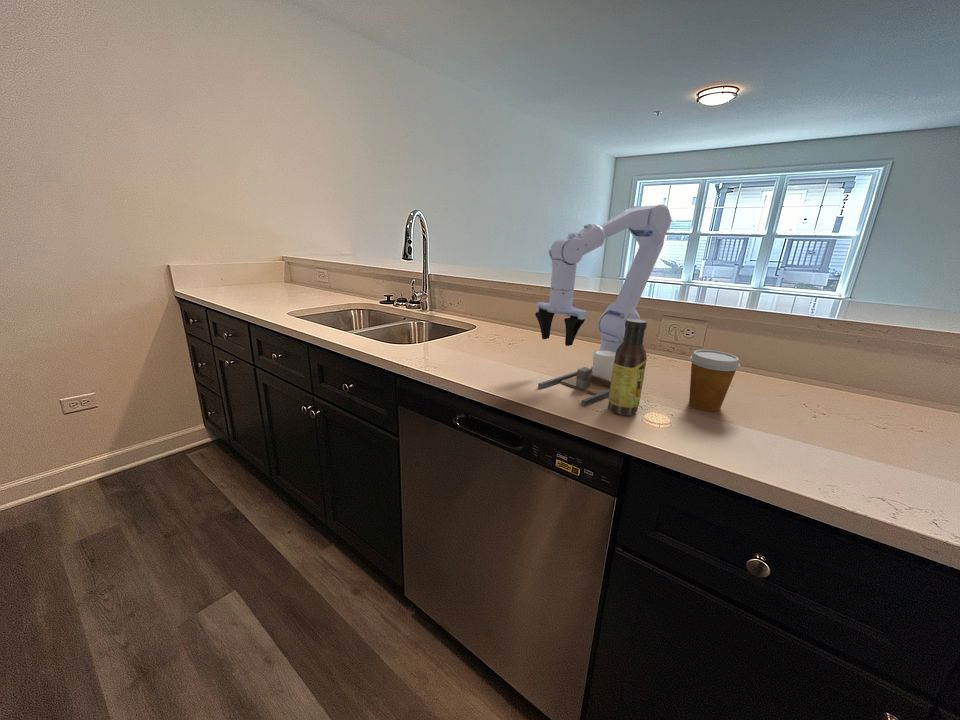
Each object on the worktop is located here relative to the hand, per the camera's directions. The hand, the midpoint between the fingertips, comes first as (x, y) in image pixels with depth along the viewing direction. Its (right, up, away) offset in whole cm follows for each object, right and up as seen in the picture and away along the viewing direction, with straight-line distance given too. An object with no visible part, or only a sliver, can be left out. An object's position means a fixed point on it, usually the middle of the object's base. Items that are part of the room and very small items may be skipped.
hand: (556, 341), depth 102 cm
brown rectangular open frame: (+10, -11, -1) cm, 15 cm away
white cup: (+12, -10, 0) cm, 16 cm away
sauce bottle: (+11, -16, -17) cm, 26 cm away
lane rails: (+6, -11, -4) cm, 14 cm away
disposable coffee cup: (+31, -15, -12) cm, 37 cm away
